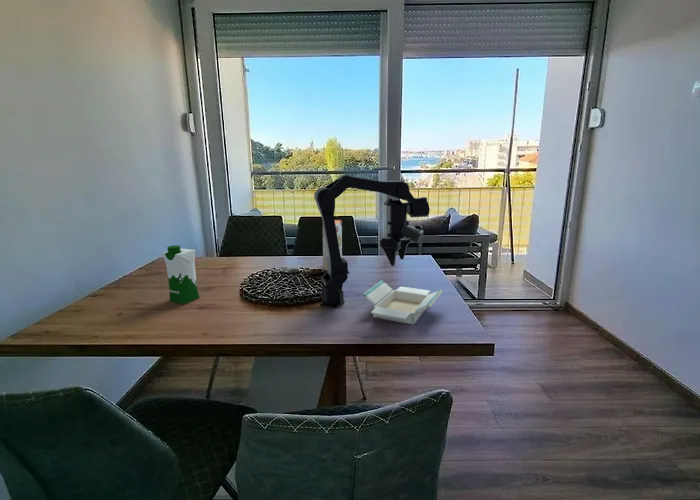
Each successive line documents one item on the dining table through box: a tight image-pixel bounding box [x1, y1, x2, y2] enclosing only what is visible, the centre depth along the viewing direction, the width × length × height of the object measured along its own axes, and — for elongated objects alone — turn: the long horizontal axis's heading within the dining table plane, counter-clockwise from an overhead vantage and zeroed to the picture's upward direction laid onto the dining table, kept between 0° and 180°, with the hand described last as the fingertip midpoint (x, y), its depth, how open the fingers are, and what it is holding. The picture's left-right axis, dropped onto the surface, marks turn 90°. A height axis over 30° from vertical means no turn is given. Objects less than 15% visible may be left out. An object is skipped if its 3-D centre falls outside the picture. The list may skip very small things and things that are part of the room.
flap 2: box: [415, 289, 444, 312], centre depth 123 cm, size 1×15×5 cm
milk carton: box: [162, 245, 200, 305], centre depth 139 cm, size 9×9×20 cm
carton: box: [370, 286, 431, 325], centre depth 128 cm, size 13×26×4 cm, turn 153°
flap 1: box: [362, 280, 394, 306], centre depth 131 cm, size 1×15×5 cm
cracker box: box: [322, 219, 343, 272], centre depth 177 cm, size 14×6×21 cm, turn 168°
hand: (397, 262), depth 137 cm, fingers open, 9 cm apart
